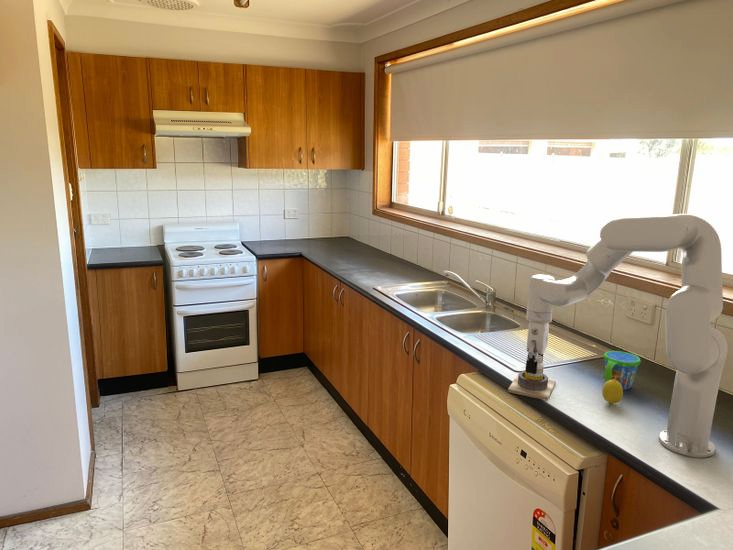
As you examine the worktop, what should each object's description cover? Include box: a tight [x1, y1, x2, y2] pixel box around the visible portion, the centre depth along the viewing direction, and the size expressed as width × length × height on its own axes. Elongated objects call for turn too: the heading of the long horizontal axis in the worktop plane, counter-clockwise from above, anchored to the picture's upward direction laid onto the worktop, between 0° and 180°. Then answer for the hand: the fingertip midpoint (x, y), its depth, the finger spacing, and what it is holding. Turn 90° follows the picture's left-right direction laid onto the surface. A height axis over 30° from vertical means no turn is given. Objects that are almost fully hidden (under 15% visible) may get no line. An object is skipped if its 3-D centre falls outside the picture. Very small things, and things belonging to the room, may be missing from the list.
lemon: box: [601, 379, 624, 405], centre depth 165 cm, size 6×6×8 cm
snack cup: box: [603, 350, 642, 391], centre depth 178 cm, size 16×10×10 cm
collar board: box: [507, 370, 557, 401], centre depth 175 cm, size 14×12×4 cm
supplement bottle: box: [524, 354, 545, 380], centre depth 174 cm, size 5×5×10 cm
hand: (534, 367), depth 174 cm, fingers open, 9 cm apart
